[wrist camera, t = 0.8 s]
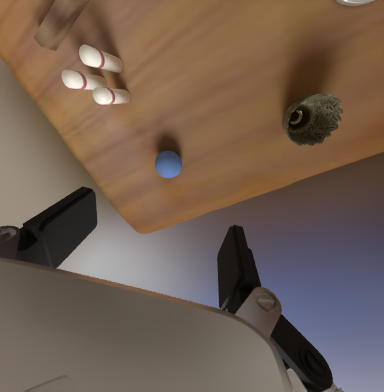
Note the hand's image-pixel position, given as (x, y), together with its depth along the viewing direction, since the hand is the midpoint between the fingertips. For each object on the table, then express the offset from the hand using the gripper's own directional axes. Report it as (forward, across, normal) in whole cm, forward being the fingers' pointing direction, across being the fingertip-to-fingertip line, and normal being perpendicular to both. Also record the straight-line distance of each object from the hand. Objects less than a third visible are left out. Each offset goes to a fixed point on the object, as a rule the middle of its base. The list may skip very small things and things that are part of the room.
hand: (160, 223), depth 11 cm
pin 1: (+29, +18, -10) cm, 36 cm away
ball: (+27, +5, +6) cm, 28 cm away
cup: (+29, -17, -9) cm, 35 cm away
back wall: (+29, +27, -15) cm, 42 cm away
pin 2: (+30, +22, -6) cm, 37 cm away
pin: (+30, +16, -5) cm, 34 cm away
